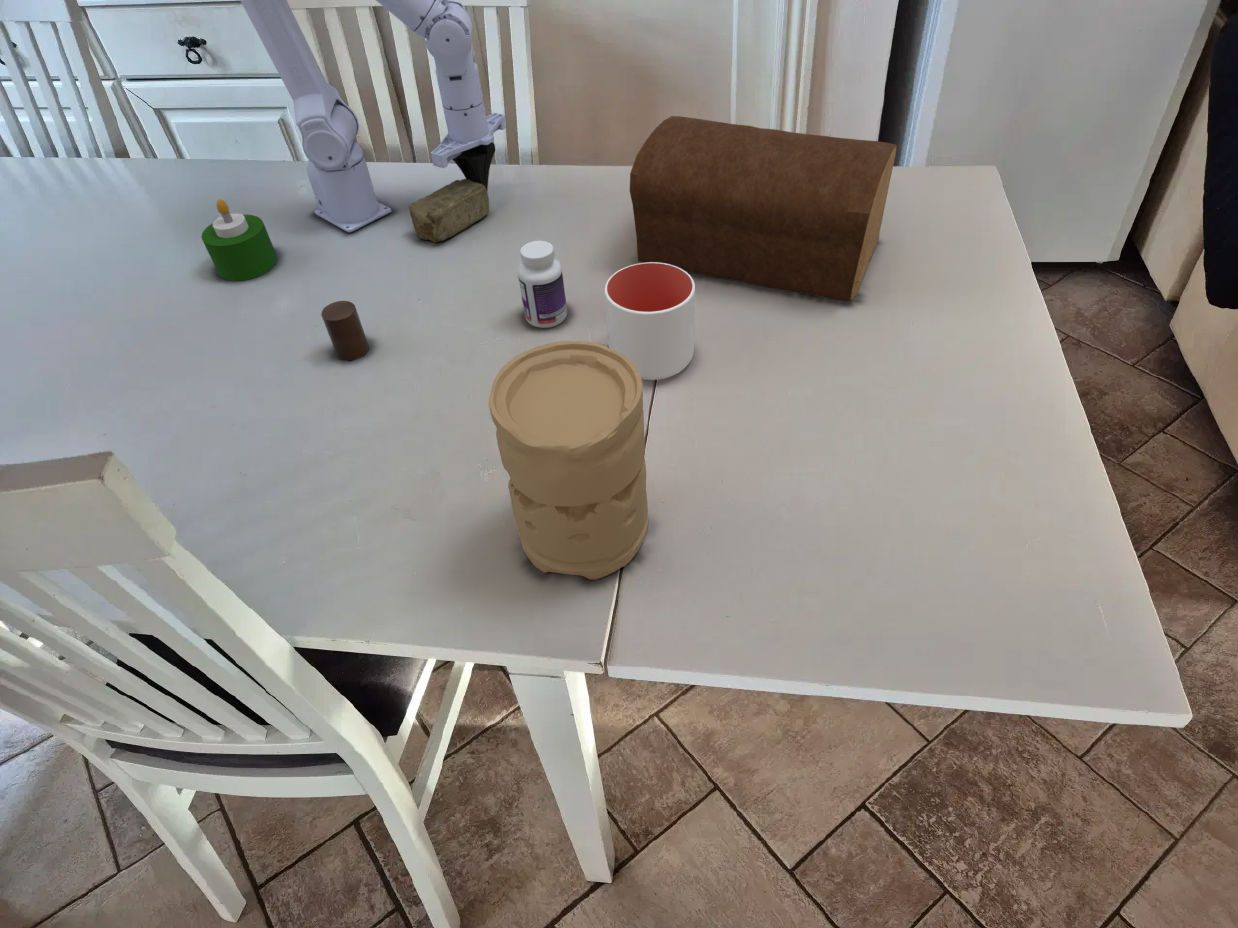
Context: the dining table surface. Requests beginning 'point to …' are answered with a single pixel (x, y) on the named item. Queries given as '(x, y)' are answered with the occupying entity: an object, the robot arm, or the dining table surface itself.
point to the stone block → (449, 210)
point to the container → (574, 455)
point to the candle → (239, 245)
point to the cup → (652, 317)
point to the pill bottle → (541, 285)
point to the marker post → (345, 330)
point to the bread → (761, 204)
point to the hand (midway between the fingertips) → (480, 192)
